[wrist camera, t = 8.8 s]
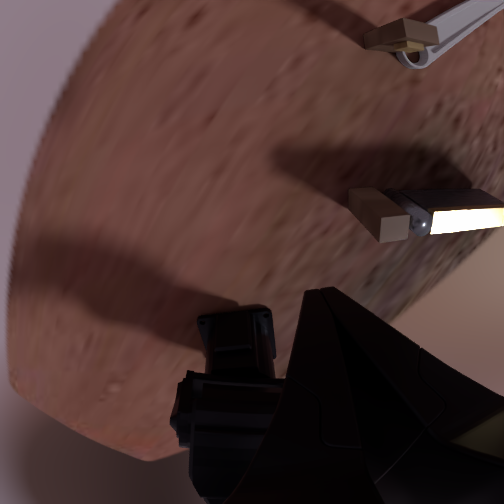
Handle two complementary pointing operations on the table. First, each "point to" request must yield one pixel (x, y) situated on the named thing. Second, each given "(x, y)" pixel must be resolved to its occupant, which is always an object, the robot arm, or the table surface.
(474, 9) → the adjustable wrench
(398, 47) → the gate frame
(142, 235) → the table surface
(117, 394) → the table surface
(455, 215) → the gate panel
